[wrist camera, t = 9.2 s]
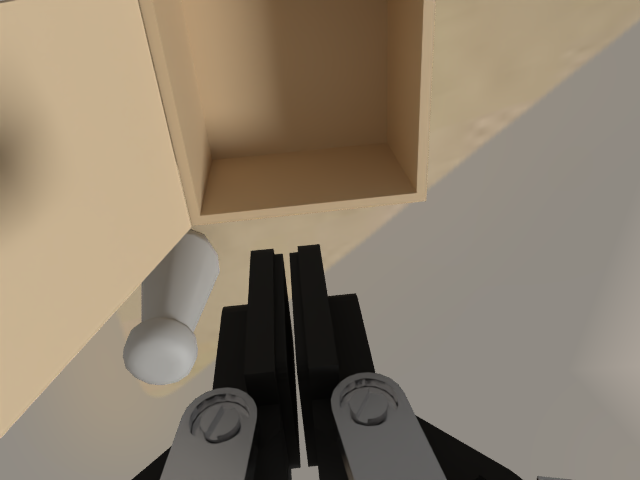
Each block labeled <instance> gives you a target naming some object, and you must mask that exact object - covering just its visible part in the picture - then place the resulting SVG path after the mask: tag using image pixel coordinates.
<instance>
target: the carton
mask: <svg viewBox="0 0 640 480" xmlns="http://www.w3.org/2000/svg"><path fill="white" fill-rule="evenodd" d="M139 3H140V7H141V12H142V16H143V20H144V24H145V29H146V33H147V37H148V41H149V46H150V50H151V54H152V58H153V63H154V67H155V71H156V75H157V80H158V84H159V88H160V93H161V97H162V101H163V105H164V110H165V114H166V118H167V122H168V127H169V131H170V135H171V139H172V144H173V148H174V152H175V156H176V161H177V165H178V169H179V174H180V178H181V182H182V186H183V191H184V195H185V199H186V203H187V208H188V212H189V216H190V220H191V225H192V226H196V225H205V224H214V223H224V222H233V221H243V220H252V219H261V218H271V217H280V216H290V215H299V214H309V213H318V212H327V211H337V210H346V209H356V208H365V207H374V206H384V205H393V204H403V203H412V202H420V201H426V194H427V173H428V153H429V132H430V112H431V91H432V70H433V50H434V29H435V9H436V0H139Z"/></svg>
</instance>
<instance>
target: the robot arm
mask: <svg viewBox="0 0 640 480" xmlns="http://www.w3.org/2000/svg"><path fill="white" fill-rule="evenodd" d="M290 270H291V286H292V302H293V317H294V334H295V350H296V364H297V375H298V384H299V392H300V401H301V409H302V417H303V426H304V434H305V443H306V451H307V459H308V466H309V467H310V466H318V469H319V479H320V480H522V479H521V478H520V477H519V476H517V475H516V474H515V473H513V472H512V471H511V470H509V469H507V468H506V467H504V466H502V465H501V464H499V463H497V462H495V461H494V460H492V459H490V458H488V457H487V456H485V455H483V454H482V453H480V452H478V451H476V450H474V449H473V448H471V447H469V446H468V445H466V444H464V443H462V442H461V441H459V440H457V439H456V438H454V437H452V436H450V435H449V434H447V433H445V432H443V431H442V430H440V429H438V428H437V427H435V426H433V425H431V424H430V423H428V422H426V421H424V420H423V419H421V418H419V417H417V416H416V415H415V414H414V412H413V410H412V408H411V405H410V403H409V401H408V399H407V397H406V395H405V393H404V392H403V390H402V389H401V387H400V386H399V385H398V384H397V383H396V382H395V381H393V380H392V379H390V378H389V377H386V376H383V375H381V374H377V373H375V369H374V365H373V361H372V357H371V352H370V348H369V344H368V340H367V336H366V331H365V327H364V323H363V319H362V314H361V310H360V306H359V302H358V298H357V295H356V294H345V295H336V296H328V295H327V289H326V283H325V276H324V270H323V263H322V257H321V251H320V245H319V244H317V245H307V246H298V252H295V253H290ZM215 366H216V367H215V374H214V382H213V390H212V391H208V392H206V393H204V394H202V395H201V396H199V397H198V398H196V399H195V400H194V401H193V402H192V403H191V404H190V405H189V406H188V407H187V409H186V410H185V412H184V414H183V416H182V418H181V421H180V424H179V427H178V430H177V432H176V435H175V438H174V441H173V444H172V446H171V447H170V448H169V449H167V450H166V451H165V452H164V453H163V454H162V455H160V456H159V457H158V458H157V459H156V460H155V461H153V462H152V463H151V464H150V465H149V466H147V467H146V468H145V469H144V470H143V471H141V472H140V473H139V474H138V475H137V476H136V477H134V478H133V479H132V480H292V477H291V469H293V468H300V450H299V431H298V414H297V398H296V380H295V363H294V347H293V336H292V327H291V319H290V311H289V302H288V294H287V286H286V277H285V269H284V261H283V254H275V255H274V250H273V249H266V250H255V251H251V257H250V276H249V294H248V304H247V305H237V306H227V307H223V310H222V316H221V324H220V332H219V341H218V349H217V357H216V365H215ZM537 480H570V479H560V478H550V477H541V476H537Z"/></svg>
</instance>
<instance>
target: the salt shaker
mask: <svg viewBox="0 0 640 480" xmlns="http://www.w3.org/2000/svg"><path fill="white" fill-rule="evenodd" d="M218 274H219V262H218V254H217V253H216V251H215V250H214V248H213V247H212V245H211V244H210V242H209V241H208V239H207V238H206V236H205V235H204V234H201V233H199V232H196V231H193V230H189V231H188V232H187V233H186V234H185V235H184V236H183V237H182V239H181V240H180V241H179V242H178V243H177V244H176V245H175V246H174V247H173V248H172V250H171V251H170V252H169V253H168V254H167V255H166V256H165V257H164V258H163V260H162V261H161V262H160V263H159V264H158V265H157V266H156V267H155V268H154V270H153V271H152V272H151V273H150V274H149V275H148V276H147V277H146V278H145V279H144V281H143V282H142V322H141V323H140V324H138V325H137V326H136V327H134V328H133V329H132V330H131V332H130V334H129V336H128V339H127V341H126V344H125V347H124V351H123V358H124V363H125V366H126V369H127V370H128V371H129V372H130V373H131V374H132V375H133V376H134V377H136V378H137V379H139V380H142V381H144V382H146V383H148V384H155V385H165V384H170V383H175V382H178V381H180V380H181V379H182V378H184V377H185V376H187V375H188V374H189V373H190V371H191V369H192V367H193V365H194V363H195V360H196V358H197V351H198V348H197V342H196V337H195V334H194V333H193V332H194V330H195V327H196V325H197V323H198V320H199V318H200V316H201V313H202V311H203V309H204V306H205V304H206V302H207V300H208V297H209V295H210V293H211V290H212V288H213V286H214V283H215V281H216V279H217V276H218Z"/></svg>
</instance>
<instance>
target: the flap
mask: <svg viewBox="0 0 640 480" xmlns="http://www.w3.org/2000/svg"><path fill="white" fill-rule="evenodd" d="M190 229H191V224H190V220H189V215H188V211H187V207H186V203H185V198H184V194H183V190H182V186H181V181H180V177H179V173H178V169H177V164H176V160H175V156H174V152H173V147H172V143H171V139H170V135H169V130H168V126H167V122H166V118H165V114H164V109H163V105H162V101H161V97H160V92H159V88H158V84H157V80H156V75H155V71H154V67H153V63H152V58H151V54H150V50H149V46H148V41H147V37H146V33H145V29H144V24H143V20H142V16H141V12H140V7H139V3H138V0H5V1H0V439H1V438H2V437H3V435H4V434H5V433H6V432H7V431H8V430H9V429H10V428H11V426H12V425H13V424H14V423H15V422H16V421H17V420H18V419H19V418H20V417H21V415H22V414H23V413H24V412H25V411H26V410H27V409H28V408H29V407H30V405H31V404H32V403H33V402H34V401H35V400H36V399H37V398H38V397H39V396H40V394H41V393H42V392H43V391H44V390H45V389H46V388H47V387H48V386H49V385H50V383H51V382H52V381H53V380H54V379H55V378H56V377H57V376H58V375H59V373H60V372H61V371H62V370H63V369H64V368H65V367H66V366H67V365H68V363H69V362H70V361H71V360H72V359H73V358H74V357H75V356H76V355H77V354H78V352H79V351H80V350H81V349H82V348H83V347H84V346H85V345H86V343H87V342H88V341H89V340H90V339H91V338H92V337H93V336H94V335H95V333H97V331H98V330H99V329H100V328H101V327H102V326H103V325H104V324H105V323H106V321H107V320H108V319H109V318H110V317H111V316H112V315H113V314H114V313H115V312H116V310H117V309H118V308H119V307H120V306H121V305H122V304H123V303H124V302H125V300H126V299H127V298H128V297H129V296H130V295H131V294H132V293H133V292H134V291H135V289H136V288H137V287H138V286H139V285H140V284H141V283H142V282H143V281H144V279H145V278H146V277H147V276H148V275H149V274H150V273H151V272H152V271H153V270H154V268H155V267H156V266H157V265H158V264H159V263H160V262H161V261H162V260H163V258H164V257H165V256H166V255H167V254H168V253H169V252H170V251H171V250H172V248H173V247H174V246H175V245H176V244H177V243H178V242H179V241H180V240H181V239H182V237H183V236H184V235H185V234H186V233H187V232H188V231H189V230H190Z"/></svg>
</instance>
